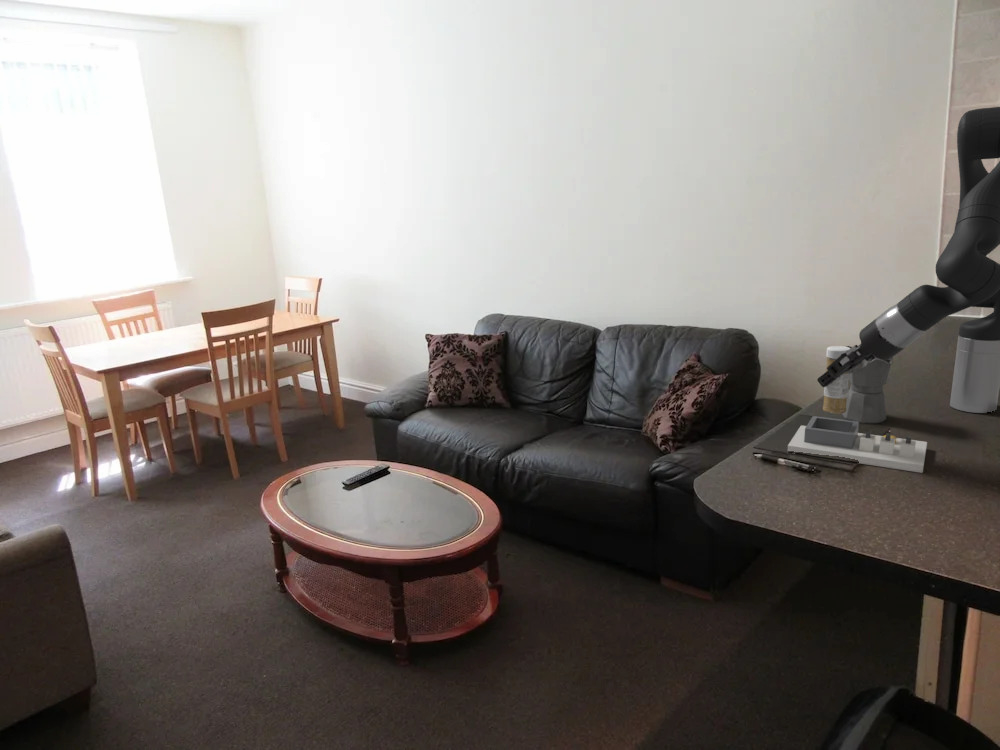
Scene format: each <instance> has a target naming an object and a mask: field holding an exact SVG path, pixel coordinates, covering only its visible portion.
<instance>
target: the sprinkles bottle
mask: <svg viewBox="0 0 1000 750" xmlns="http://www.w3.org/2000/svg"><path fill="white" fill-rule="evenodd" d="M849 349H850V348H849V347H846V346H845V345H831V346H828V347H827V348H826V354H825V355H826V367H825V368H827V367H828V366H830V365H831V364H832V363H833V362H834V361H835V360H836V359H837V358H838V357H840V356H841V354H843V353H847V352H848V351H849ZM827 371H828V370H827V369H825V372H827ZM849 383H850V381H849V372H846V373H845V374H843V375H842V376H841V377H840V378H837V379H836V380H834V381H833V382H832V383H830V384H829V385H828V386H826V387H823V388H824V390H823V395H824V396H823V405H822V410H823V411H824V412H826V413H831V414H838V415H839V414H842V413H844V412H846V410H847V409H846V403H847V396H848V390H849Z"/></svg>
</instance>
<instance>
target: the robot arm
mask: <svg viewBox="0 0 1000 750" xmlns="http://www.w3.org/2000/svg"><path fill="white" fill-rule="evenodd" d="M956 132H957V133H956V147H957V159H958V171H959V204H958V205H959V206H958V211H957V216H956V221H955V226H954V231H953V234H952V236H951V237H950V239H949V241H948V243H947V244H946V246H945V247H944V249H943V251H942V252H941V254H940V255H939V257H938V259H937V261H936V262H935V263H936V264H935V275H936V278H937V279H938V280H939V281H940V282H941V283H942V284H944V285H945V287H942V286H935V285H931V284H922V285H919V286H918V287H916V288H915V289H914V290H913V291H911V292H910V293H908V294H907V295H906V296H905V297H904V298H902V299H901V300H900V301H899V302H897V303H896V304H894V305H892V306H890V307H889V308H888V309H886V310H885V311H884V312H882V313H881V314H879V316H877V317H876V318H875V319H873V320H872V321H871V322H870V323H869V324H867V325H866V326H865V327H864V328H862V329H861V330H860V332H859V335H858V336H859V340H860V343H859V344H855V345H853V346H851V347H852V348H850V349H849V351H848V352H847V353H843V354H841V356H840V357H838V358H837V359H836V360H835V361H834V362H833V363H832V364H831V365H830V366H828V367H827V368H826V367H825V368H826V369H827V370H828V371H827V372H826V371H825V372H824V373H823V374H822V375H820V376H819V377H818V378H817V382H818V383H819V384H820V386H821V387H822V388H824V387H826V386H828V385H829V384H830V383H832V382H833V381H834V380H836V379H837V378H840V377H841V376H842V375H843V374H845V373H846V372H849V374H850V372H851V373H854V372H855V371H856V370H857V369H858V370H859V369H862V368H863V367H865V366H866V365H867V364H868V363H870V362H872V361H874V360H875V359H876V358H878V359H880V360H889V359H891V358H892V357H893V358H894V357H895V356H896V355H897V354H899V353H900V352H901V351H903V350H904V349H906V348H907V347H909V346H910V345H911V344H912V343H914V342H915V341H917V340H918V339H919V338H920V337H922V335H924V333H926V332H927V331H928V330H929V329H931V328H933V327H934V326H935V325H936V324H938V323H939V322H940V321H942V320H943V319H945V318H947V317H948V316H952V315H954V314H957V313H959V312H961V311H963V310H964V311H965V310H966V309H968V308H985V309H993V312H991V313H990V314H988V315H985V316H984V317H981V318H977V319H971V320H967V321H964V322H962V323H961V324H960V325H959V327H958V328H959V330H958V336H957V337H958V338H957V343H956V344H957V345H956V353H955V361H954V362H955V363H954V367H953V368H954V369H953V377H952V386H951V392H950V393H951V394H950V402H949V406H950V407H951V408H952V409H955V410H958V411H961V412H965V413H966V412H967V413H973V414H974V413H975V414H988V413H987V412H991V413H993V412H992V411H994V412H996V411H997V408H998V407H997V406H998V400H999V394H1000V263H999V262H997V261H995V260H993V259H992V258H990V257H989V256H988V255H989V254H990V253H991V252H993V251H995V249H996V248H997V247H999V246H1000V160H999V161H998V163H997V164H996V165H995V166H994V167H993V168H992V170H990V172H988V170H987V169H986V168H985V166H984V163H983V160H991V159H1000V106H993V107H983V108H982V107H981V108H976V109H975V108H974V109H971V110H967V111H965V113H963V115H962V116H961V117H960V120H959V123H958V126H957V131H956ZM826 369H825V370H826ZM995 410H996V411H995Z"/></svg>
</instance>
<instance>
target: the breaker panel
mask: <svg viewBox="0 0 1000 750" xmlns="http://www.w3.org/2000/svg"><path fill="white" fill-rule="evenodd" d="M859 426H860V423H859V422H858V421H850V420H848V419H841V418H834V417H833V418H832V417H823V416H817V415H816V416H815V415H812V417H811V418H810V420H809V422H808V423H807V425H802V424H801V425H800V427H799V428H798V429H797V431H796V432H795V434H794V435H793V437H792V438H791V440H790V441H789V443H788V444H787V451H794V452H803V453H811V454H819V455H829V456H839V457H845V458H850V459H855V460H858V461H859V463H858V464H862V465H868V466H875V467H881V468H887V469H893V470H899V471H900V470H901V471H908V472H913V473H921V474H924V473H923V472H924V467H925V466H924V465H925V460H926V459H925V458H926V453H927V446H928V442H927V441H922V440H915V439H912V436H910V435H906V437H905V438H900V437H897V436H896V435H892V433H889V432H886V433H885V435H877V434H876V435H875V434H871V433H872V431H871V430H866V431H865V433H861V432H859Z"/></svg>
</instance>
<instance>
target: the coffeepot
mask: <svg viewBox="0 0 1000 750" xmlns="http://www.w3.org/2000/svg"><path fill="white" fill-rule="evenodd" d="M845 347H849V348H852V347H853V346H850V345H845ZM893 358H894V356H893V357H892V358H891V359H889V360H880V359H878V358H876V359H875V360H874V361H872V362H870V363H868V364H867V365H866V366H865V367H863V368H862V369H859V370H858V369H857V370H856V371H855V372H854V373H851V372H850V374H849V383H850V385H849V386H850V388H848V396H847V403H846V409H847V410H846V412H844V413H841V415H842V417H843V418H845V420H850V421H858V422H859V424H861V423H862V424H879V423H882V422H884V421H885V420H887V413H886V411H887V410H886V409H887V408H886V402H885V393H884V391H883V389H884V385H886V383H887V380H888V376H889V373H890V369H891V366H892V365H893V362H894V361H893Z"/></svg>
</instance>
